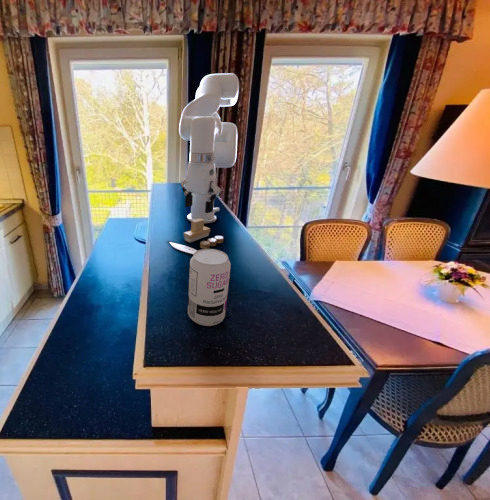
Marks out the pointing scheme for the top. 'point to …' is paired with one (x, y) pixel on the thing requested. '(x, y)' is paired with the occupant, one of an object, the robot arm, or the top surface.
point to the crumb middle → (212, 241)
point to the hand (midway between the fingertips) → (198, 209)
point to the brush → (197, 231)
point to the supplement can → (208, 286)
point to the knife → (184, 248)
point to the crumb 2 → (219, 239)
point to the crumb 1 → (204, 244)
